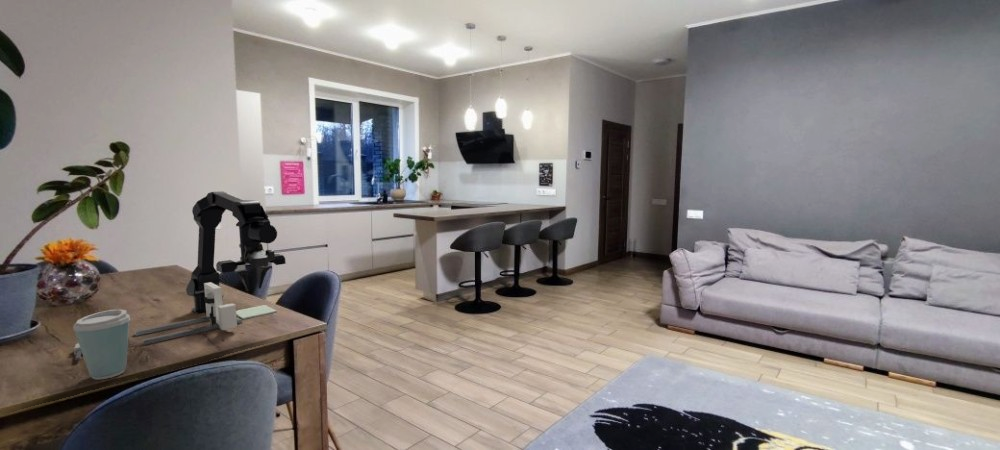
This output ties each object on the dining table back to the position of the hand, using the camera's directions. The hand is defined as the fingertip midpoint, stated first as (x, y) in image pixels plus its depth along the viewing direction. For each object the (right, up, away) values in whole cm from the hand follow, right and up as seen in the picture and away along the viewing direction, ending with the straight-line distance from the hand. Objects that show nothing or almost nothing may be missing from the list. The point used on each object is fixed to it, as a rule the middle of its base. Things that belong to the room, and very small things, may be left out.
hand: (253, 289), depth 146 cm
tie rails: (-20, -12, -1) cm, 23 cm away
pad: (-8, -10, +16) cm, 21 cm away
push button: (-15, -12, +4) cm, 20 cm away
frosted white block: (-12, -11, +1) cm, 16 cm away
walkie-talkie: (-35, -15, -17) cm, 42 cm away
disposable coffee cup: (-18, -16, -34) cm, 41 cm away
